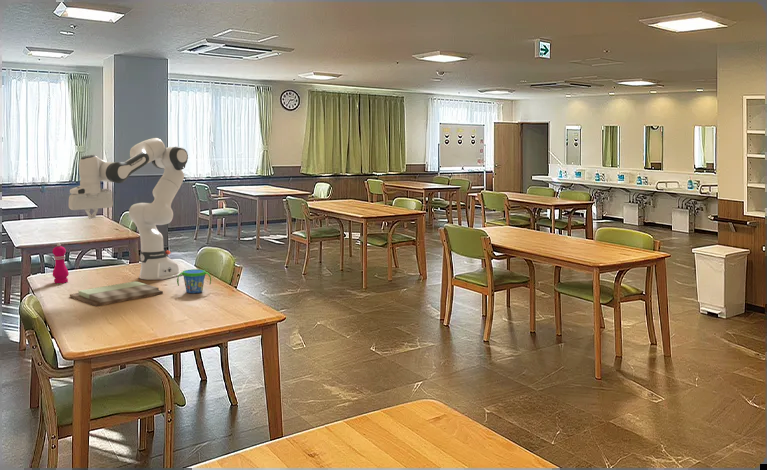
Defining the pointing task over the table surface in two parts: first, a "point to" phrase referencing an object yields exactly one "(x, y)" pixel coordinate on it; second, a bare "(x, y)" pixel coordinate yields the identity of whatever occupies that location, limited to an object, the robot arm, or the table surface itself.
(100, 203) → the robot arm
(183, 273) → the snack cup
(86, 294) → the board
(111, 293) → the floor board
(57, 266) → the pepper mill
